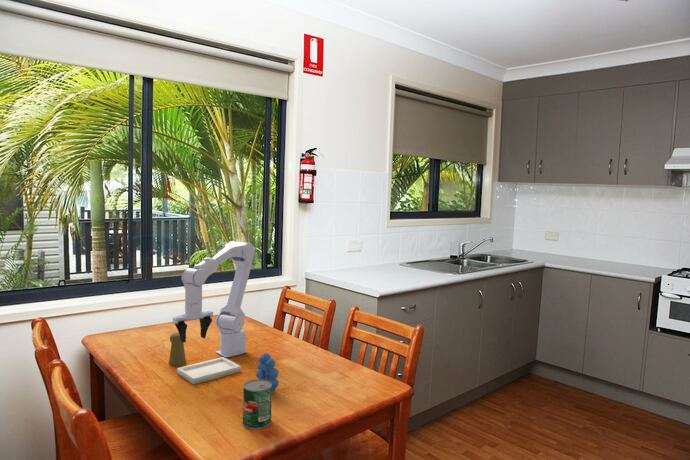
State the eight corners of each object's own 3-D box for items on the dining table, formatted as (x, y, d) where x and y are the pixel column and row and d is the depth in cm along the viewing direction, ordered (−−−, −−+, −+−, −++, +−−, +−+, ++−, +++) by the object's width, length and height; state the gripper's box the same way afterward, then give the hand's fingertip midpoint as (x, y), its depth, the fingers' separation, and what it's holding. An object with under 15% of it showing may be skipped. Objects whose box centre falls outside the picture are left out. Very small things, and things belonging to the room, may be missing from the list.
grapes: (247, 386, 162) (248, 351, 161) (266, 382, 166) (266, 348, 165) (263, 400, 152) (264, 362, 151) (282, 395, 156) (283, 358, 155)
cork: (180, 366, 178) (180, 336, 176) (165, 364, 179) (165, 335, 178) (189, 360, 183) (189, 331, 182) (174, 358, 185) (174, 330, 183)
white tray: (223, 362, 183) (223, 357, 183) (240, 371, 175) (240, 366, 174) (177, 373, 171) (177, 368, 170) (193, 384, 162) (193, 378, 162)
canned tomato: (236, 425, 136) (237, 387, 135) (252, 413, 143) (252, 377, 142) (262, 431, 133) (262, 392, 132) (276, 419, 140) (277, 382, 139)
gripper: (206, 297, 182) (206, 333, 184) (168, 303, 172) (168, 340, 173) (216, 301, 177) (215, 337, 179) (178, 307, 167) (178, 345, 168)
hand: (193, 339), depth 176 cm, fingers open, 7 cm apart
